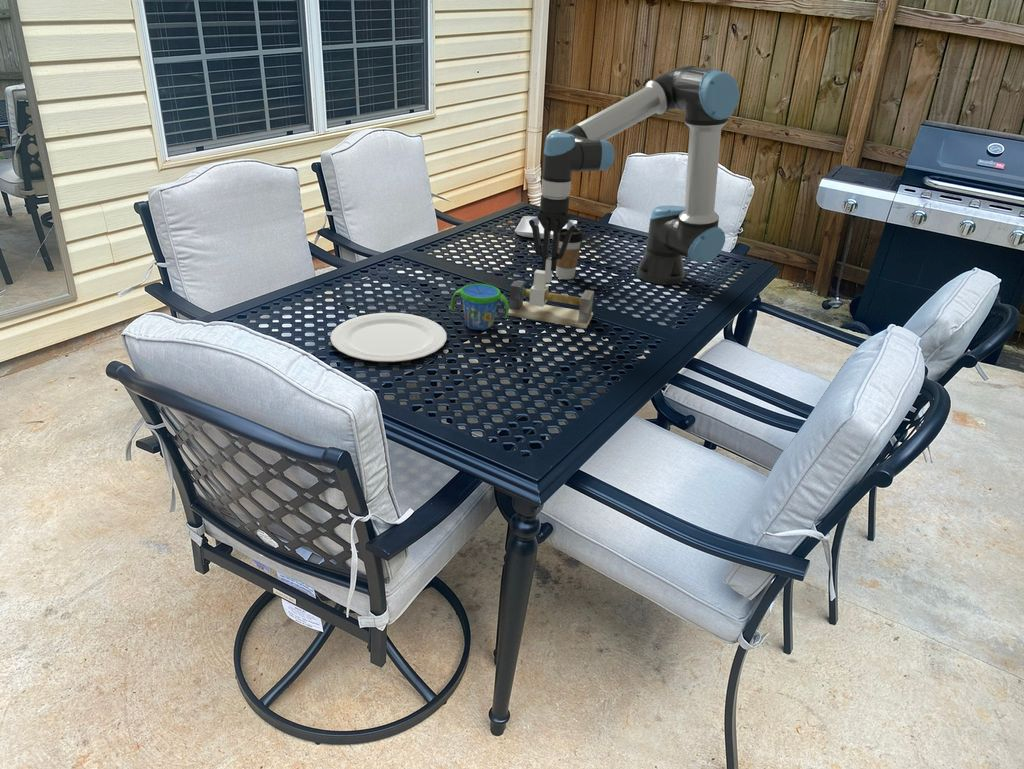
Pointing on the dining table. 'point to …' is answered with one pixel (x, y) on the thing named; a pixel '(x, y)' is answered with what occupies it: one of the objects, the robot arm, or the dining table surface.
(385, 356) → the plate
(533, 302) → the sleeve
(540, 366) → the dining table surface
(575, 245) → the coffee cup
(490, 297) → the snack cup
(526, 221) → the salad plate
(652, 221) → the robot arm
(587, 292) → the lead screw slide rig
